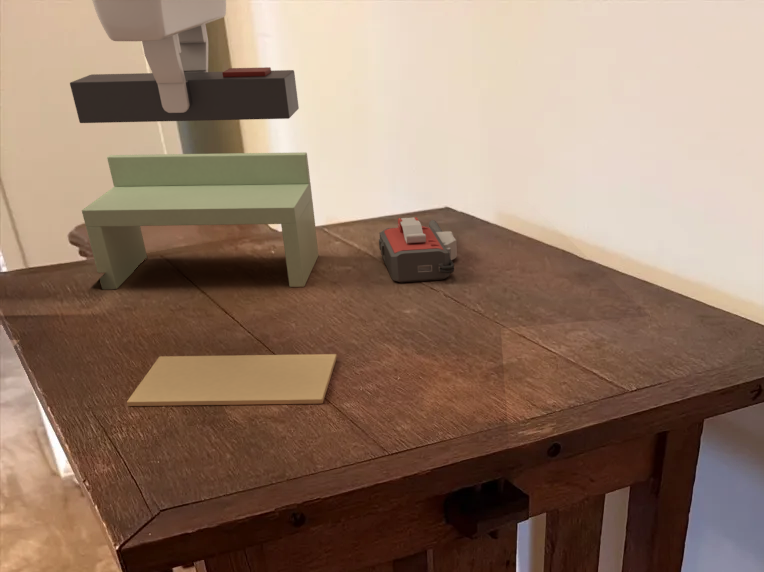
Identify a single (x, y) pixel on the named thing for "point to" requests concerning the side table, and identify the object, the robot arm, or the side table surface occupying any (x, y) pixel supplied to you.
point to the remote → (208, 91)
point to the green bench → (201, 204)
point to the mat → (235, 380)
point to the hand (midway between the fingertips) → (188, 105)
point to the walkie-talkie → (417, 251)
